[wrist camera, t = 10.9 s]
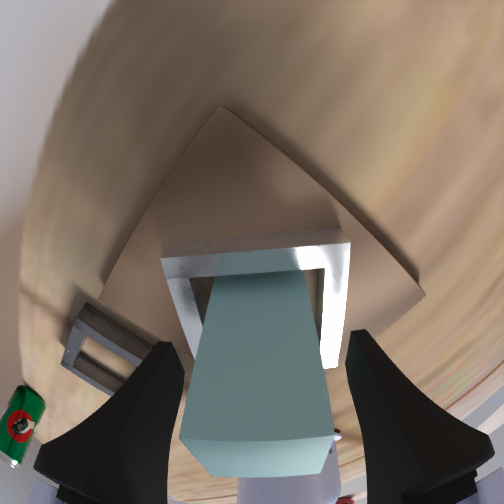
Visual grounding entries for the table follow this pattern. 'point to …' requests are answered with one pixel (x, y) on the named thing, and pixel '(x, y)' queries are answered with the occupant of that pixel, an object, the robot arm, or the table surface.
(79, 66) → the table surface
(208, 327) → the teal peg
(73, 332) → the stand socket
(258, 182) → the socket board
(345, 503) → the plant pot
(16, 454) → the soda can
